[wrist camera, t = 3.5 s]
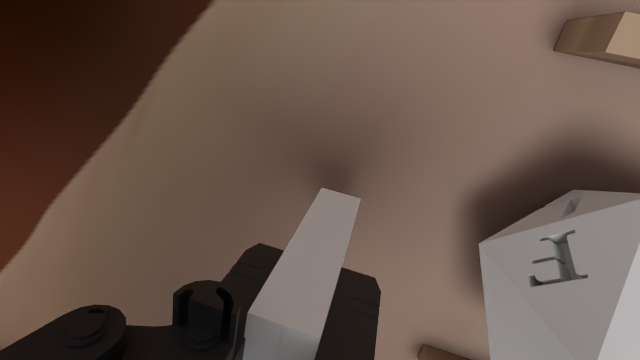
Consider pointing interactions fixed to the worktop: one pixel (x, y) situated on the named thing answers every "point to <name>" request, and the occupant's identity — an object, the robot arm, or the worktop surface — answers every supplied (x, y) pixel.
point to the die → (566, 281)
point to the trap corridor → (596, 43)
